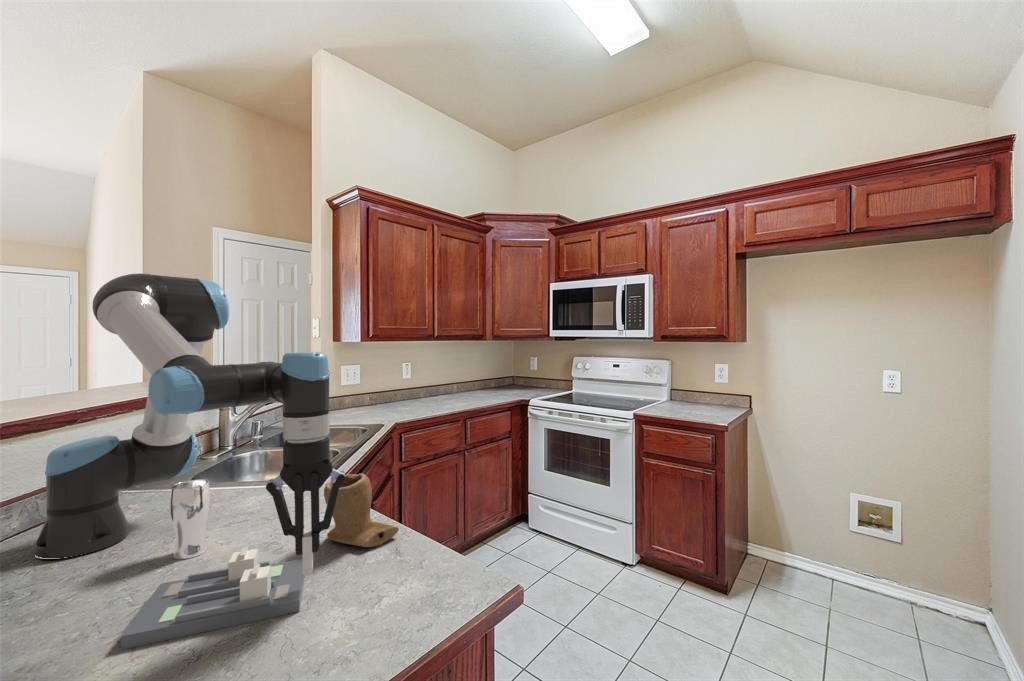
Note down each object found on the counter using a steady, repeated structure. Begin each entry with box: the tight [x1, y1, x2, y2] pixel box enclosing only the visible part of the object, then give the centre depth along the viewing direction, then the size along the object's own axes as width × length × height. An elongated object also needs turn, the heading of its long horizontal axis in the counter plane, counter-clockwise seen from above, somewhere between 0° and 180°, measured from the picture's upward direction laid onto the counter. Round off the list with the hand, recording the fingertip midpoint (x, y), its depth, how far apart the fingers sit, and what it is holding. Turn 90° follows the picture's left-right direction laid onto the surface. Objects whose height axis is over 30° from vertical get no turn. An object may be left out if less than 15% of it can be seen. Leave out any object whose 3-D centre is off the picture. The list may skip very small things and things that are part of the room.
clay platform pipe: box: [323, 473, 400, 548], centre depth 98 cm, size 15×12×15 cm
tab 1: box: [227, 546, 259, 581], centre depth 80 cm, size 4×4×5 cm
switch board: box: [120, 558, 306, 651], centre depth 75 cm, size 24×15×3 cm, turn 112°
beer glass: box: [169, 478, 211, 560], centre depth 93 cm, size 7×7×15 cm
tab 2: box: [240, 564, 271, 602], centre depth 73 cm, size 4×4×5 cm
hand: (307, 570), depth 76 cm, fingers closed
